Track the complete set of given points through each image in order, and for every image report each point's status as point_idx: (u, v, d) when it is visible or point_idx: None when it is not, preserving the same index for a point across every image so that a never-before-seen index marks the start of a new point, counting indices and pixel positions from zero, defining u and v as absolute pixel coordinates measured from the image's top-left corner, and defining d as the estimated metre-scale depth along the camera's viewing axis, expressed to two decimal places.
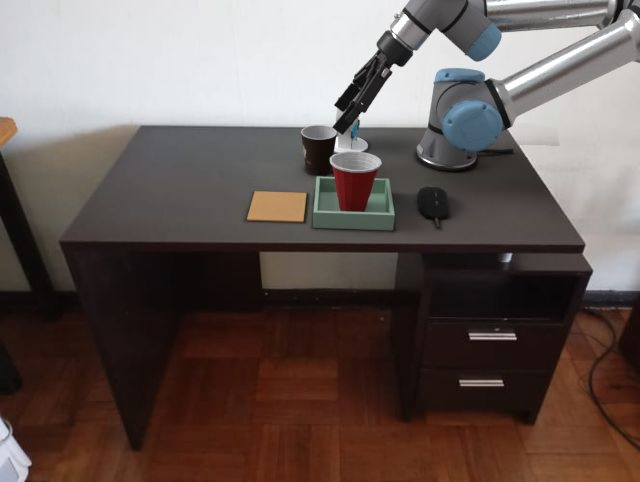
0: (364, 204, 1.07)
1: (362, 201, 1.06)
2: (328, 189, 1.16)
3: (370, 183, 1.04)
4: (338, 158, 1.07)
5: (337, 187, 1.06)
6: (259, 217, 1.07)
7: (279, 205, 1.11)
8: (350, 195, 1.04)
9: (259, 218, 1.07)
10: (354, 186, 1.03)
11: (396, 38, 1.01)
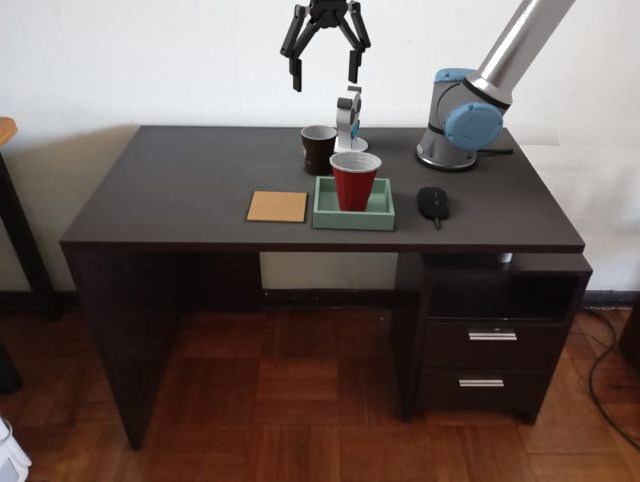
0: (364, 204, 1.07)
1: (362, 201, 1.06)
2: (328, 189, 1.16)
3: (370, 183, 1.04)
4: (338, 158, 1.07)
5: (337, 187, 1.06)
6: (259, 217, 1.07)
7: (279, 205, 1.11)
8: (350, 195, 1.04)
9: (259, 218, 1.07)
10: (354, 186, 1.03)
11: None
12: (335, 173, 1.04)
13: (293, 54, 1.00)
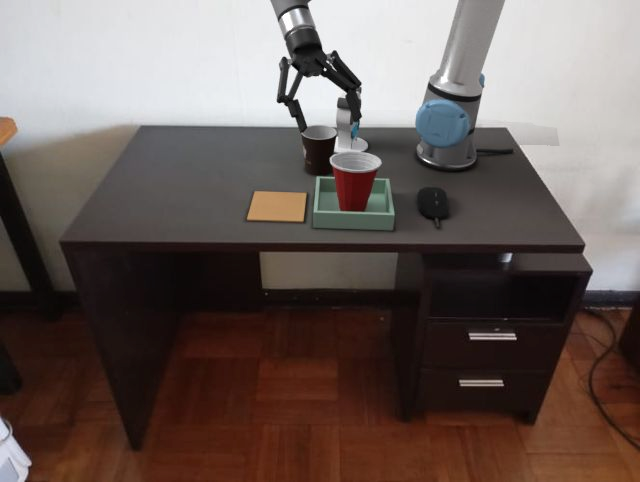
0: (364, 204, 1.07)
1: (362, 201, 1.06)
2: (328, 189, 1.16)
3: (370, 183, 1.04)
4: (338, 158, 1.07)
5: (337, 187, 1.06)
6: (259, 217, 1.07)
7: (279, 205, 1.11)
8: (350, 195, 1.04)
9: (259, 218, 1.07)
10: (354, 186, 1.03)
11: None
12: (335, 173, 1.04)
13: (288, 95, 1.06)
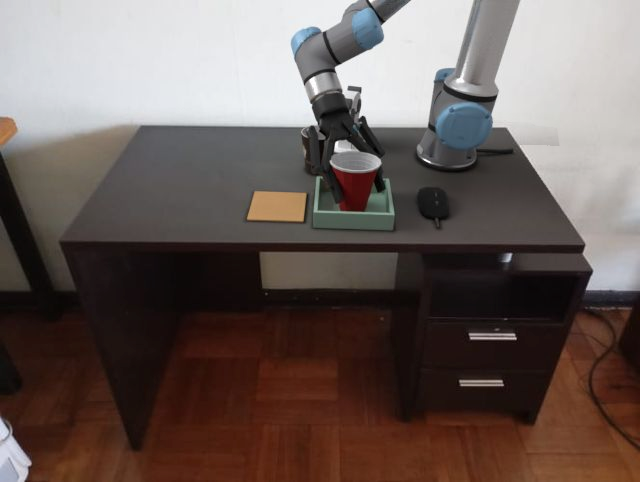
0: (364, 204, 1.07)
1: (362, 202, 1.06)
2: (328, 189, 1.16)
3: (369, 184, 1.04)
4: (338, 158, 1.07)
5: None
6: (259, 217, 1.07)
7: (279, 205, 1.11)
8: (350, 195, 1.04)
9: (259, 218, 1.07)
10: (353, 187, 1.03)
11: None
12: (335, 173, 1.04)
13: (323, 167, 1.03)
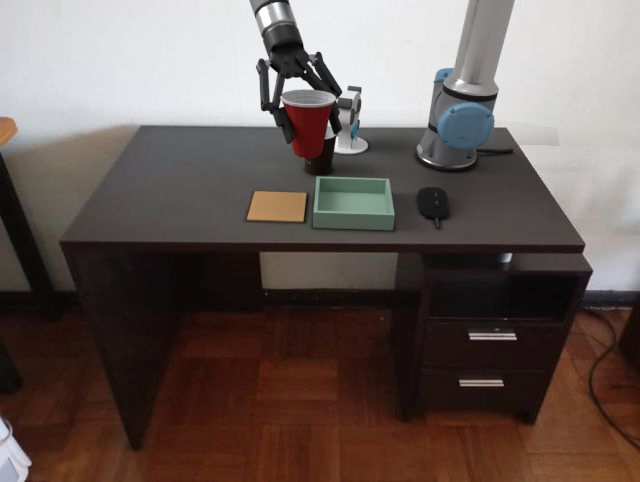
0: (319, 146, 1.00)
1: (316, 142, 0.99)
2: (328, 189, 1.16)
3: (323, 121, 0.97)
4: (291, 96, 1.00)
5: None
6: (259, 217, 1.07)
7: (279, 205, 1.11)
8: (302, 134, 0.97)
9: (259, 218, 1.07)
10: (305, 124, 0.95)
11: None
12: (286, 110, 0.96)
13: (273, 103, 0.96)
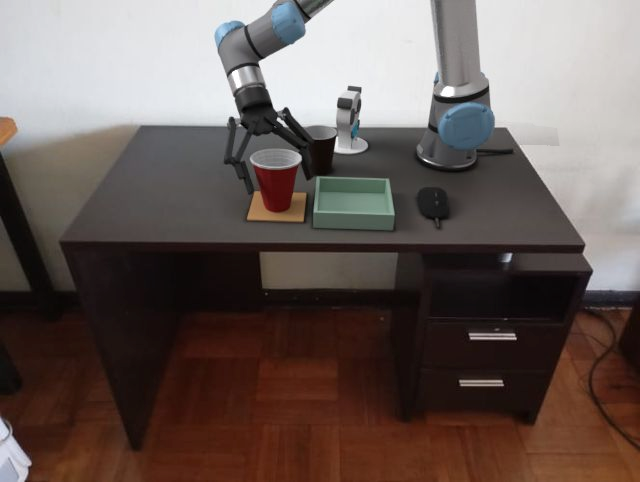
0: (287, 201, 1.08)
1: (284, 198, 1.06)
2: (328, 189, 1.16)
3: (290, 180, 1.04)
4: (261, 156, 1.08)
5: (259, 184, 1.06)
6: (259, 217, 1.07)
7: None
8: (271, 192, 1.05)
9: (259, 218, 1.07)
10: (273, 183, 1.03)
11: None
12: (255, 170, 1.04)
13: (234, 157, 1.03)
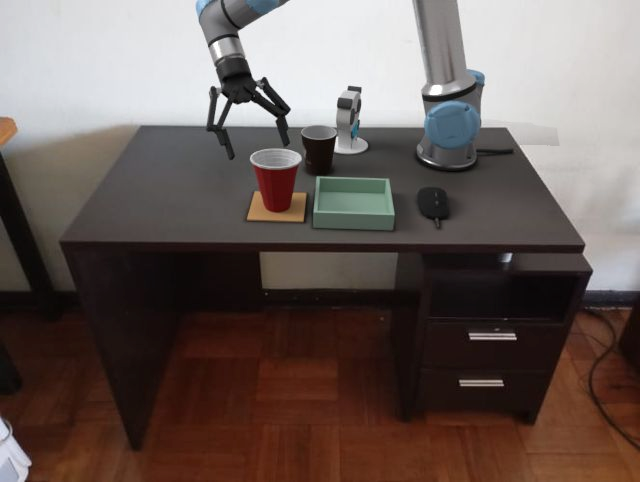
0: (287, 201, 1.08)
1: (284, 198, 1.06)
2: (328, 189, 1.16)
3: (290, 180, 1.04)
4: (261, 155, 1.08)
5: (259, 184, 1.06)
6: (259, 217, 1.07)
7: None
8: (271, 192, 1.05)
9: (259, 218, 1.07)
10: (273, 183, 1.03)
11: None
12: (255, 170, 1.04)
13: (216, 125, 1.11)
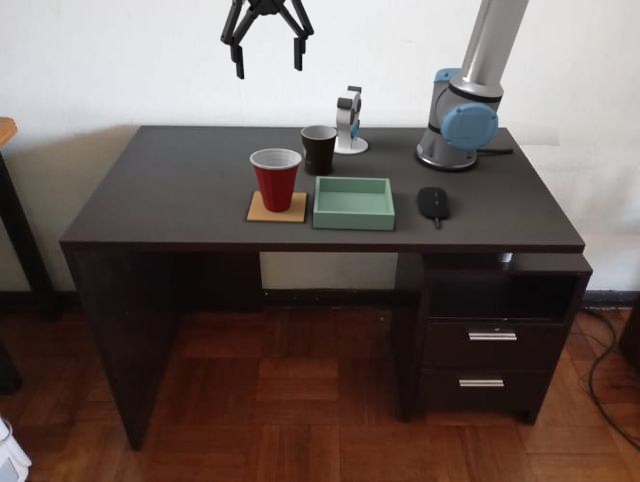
0: (287, 201, 1.08)
1: (284, 198, 1.06)
2: (328, 189, 1.16)
3: (290, 180, 1.04)
4: (261, 155, 1.08)
5: (259, 184, 1.06)
6: (259, 217, 1.07)
7: None
8: (271, 192, 1.05)
9: (259, 218, 1.07)
10: (273, 183, 1.03)
11: None
12: (255, 170, 1.04)
13: (233, 41, 1.01)
